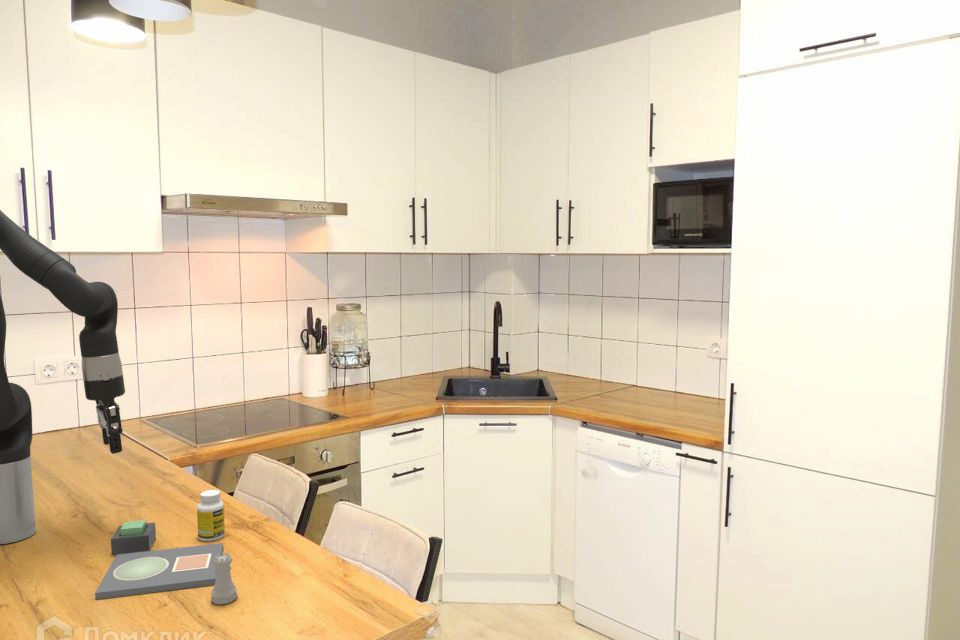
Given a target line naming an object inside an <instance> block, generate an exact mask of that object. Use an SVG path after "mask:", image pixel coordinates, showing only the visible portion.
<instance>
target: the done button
mask: <svg viewBox="0 0 960 640" xmlns="http://www.w3.org/2000/svg"><path fill="white" fill-rule="evenodd" d="M146 523H147V520H146V519H142V520H129V521H124V523H123V524H122V525H121V526H122V528H121V529H120V530H121V536H126V535H136V534H144V532H145V530H146Z"/></svg>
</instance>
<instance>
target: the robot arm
mask: <svg viewBox="0 0 960 640" xmlns="http://www.w3.org/2000/svg"><path fill="white" fill-rule="evenodd" d="M0 251H1V252H2V253H3V254H4V256H6V257H7V259H8V260H9V261H10V263H12V265H13V266H15V267H16V268H17V269H18V271H20V272H22V273H23V274H24V275H25V276H27V277H28V278H30V279H31V280H32V281H34V282H36V283H37V284H38V285H40V286H41V287H43V288H44V289H46V290H48V291H49V292H50V293H51V294H52V295H53V296H54V298H56V299H57V301H59V302H60V304H62V305H63V306H64V307H65V308H66V309H68V310H69V311H70V312H72V313H73V314H76V316H80V317H83V318H84V327H83V328H82V330H81V331H79V335H78V341H79V342H78V343H79V347H80V348H79V349H80V356H81V372H82V373H81V374H82V381H83V388H84V393H85V399H86V400H88V401H93V402H94V401H95V404H96V405H95V411H96V414H97V415H96V417H97V422H98V424H99V427H100V429H101V436H102V442H103V444H104V445H105V446H107V445H109V452H110V453H111V454H113V455H115V454H119V453H121V452H123V445H122V438H121V437H122V436H121V435H122V434H123V432H124V431H123V428H122V427H123V426H122V418H121V413H120V409H121V408H120V405H119V404H117V402H115V399H116V398H117V397H118V398H119V397H121V396H124V395H125V392H126V388H125V379H124V373H123V365H122V364H123V363H122V360H121V357H120V353H119V344H118V338H117V323H118V312H119V311H118V308H119V307H118V305H119V304H118V298H117V294H116V292H115V290H114V288H113V287H112V286H111V285H110V284H108V283H106V282H102V281H92V282H89V281H87V280H85V279H83V278H82V277H81V276H80V275H79V274H78V273H77V270H76V267H75V266H74V264H72V263H71V262H69V261H68V260H67V259H66V258H64V257H62V256H61V255H59V254H58V253H57V252H55V251H54V250H52V249H50V248H49V247H48V246H46V245H45V244H43V243H42V242H40V241H39V240H38V239H36V238H35V237H33V236H32V235H30V234H29V233H28V232H27V231H25V230H24V229H23V228H22V227H21V226H19V225H18V224H17V223H16V222H14V221H13V219H11V218H9V216H8V215H6V214H5V213H4V212H3V211H2V210H1V209H0ZM6 336H7V317H6V311H5V307H4V303H3V299H2V295H1V293H0V545H5V544H6V545H7V544H11V543H16V542H19V541H22V540H26V539H28V538H30V537H31V536H33V535H34V534H35V533H36V530H37V529H36V528H37V527H36V524H37V523H36V515H35V514H36V511H35V510H36V509H35V498H34V486H33V485H34V484H33V471H32V470H33V469H32V457H31V445H32V441H33V413H32V412H33V409H32V401H31V398H30V395H29V393H28V392H27V390H26V389H25V388H24V387H22V385H20V384H17V383H14V382H9V378H8V373H7V371H6V366H5V350H6V349H5V347H6V340H7V339H6V338H7V337H6ZM114 427H116V428H114Z"/></svg>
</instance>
